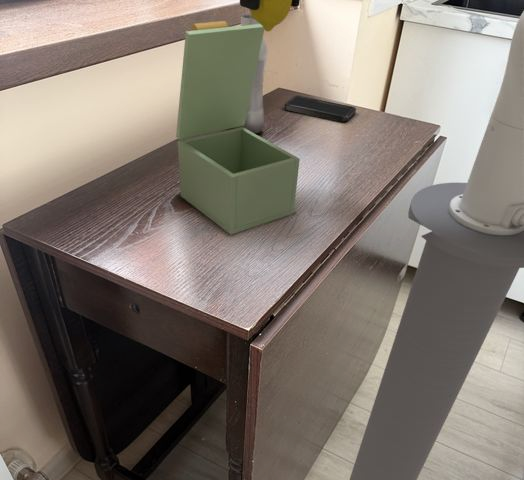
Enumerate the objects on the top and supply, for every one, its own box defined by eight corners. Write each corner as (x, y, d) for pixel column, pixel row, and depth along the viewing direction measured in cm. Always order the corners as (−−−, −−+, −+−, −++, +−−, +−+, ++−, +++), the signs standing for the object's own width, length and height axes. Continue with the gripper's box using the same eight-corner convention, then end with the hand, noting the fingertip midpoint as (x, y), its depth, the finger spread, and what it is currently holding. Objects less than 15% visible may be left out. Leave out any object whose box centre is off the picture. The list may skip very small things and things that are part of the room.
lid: (265, 26, 69) (244, 8, 71) (189, 34, 63) (168, 14, 65) (244, 125, 81) (227, 107, 83) (178, 139, 75) (161, 120, 77)
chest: (293, 213, 80) (299, 158, 74) (230, 234, 74) (232, 177, 68) (241, 179, 88) (242, 126, 82) (180, 196, 82) (177, 141, 76)
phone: (346, 117, 110) (283, 103, 114) (345, 123, 110) (282, 109, 114) (357, 107, 115) (296, 94, 119) (356, 112, 116) (296, 99, 120)
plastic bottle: (255, 140, 100) (261, 22, 87) (225, 133, 102) (226, 16, 89) (269, 130, 105) (276, 16, 91) (239, 123, 107) (242, 11, 93)
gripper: (232, -225, 44) (230, 17, 57) (368, -200, 53) (340, 7, 65) (187, -221, 49) (194, 4, 61) (320, -198, 57) (302, -3, 69)
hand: (269, 4), depth 63 cm, fingers closed on lemon, 5 cm apart
